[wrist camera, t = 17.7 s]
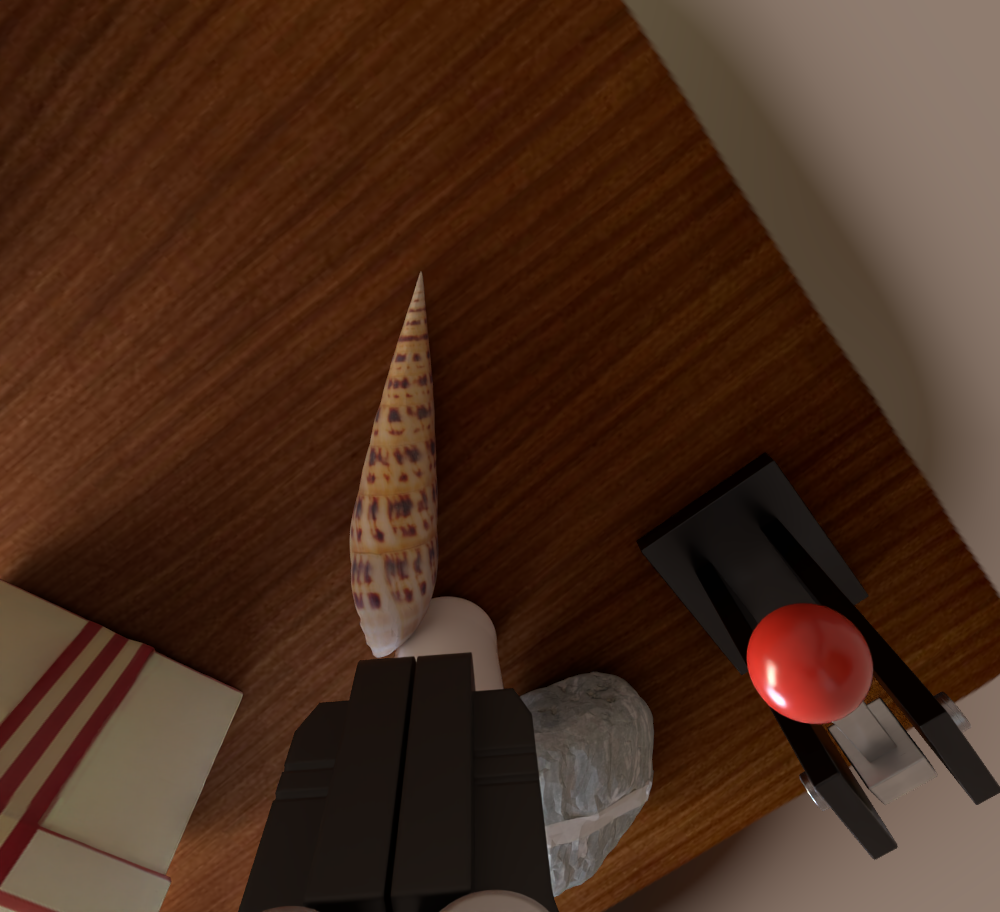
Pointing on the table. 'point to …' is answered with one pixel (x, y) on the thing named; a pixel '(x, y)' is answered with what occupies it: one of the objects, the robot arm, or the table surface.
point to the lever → (834, 693)
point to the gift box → (96, 760)
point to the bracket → (787, 580)
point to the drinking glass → (458, 638)
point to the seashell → (398, 497)
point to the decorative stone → (589, 768)
